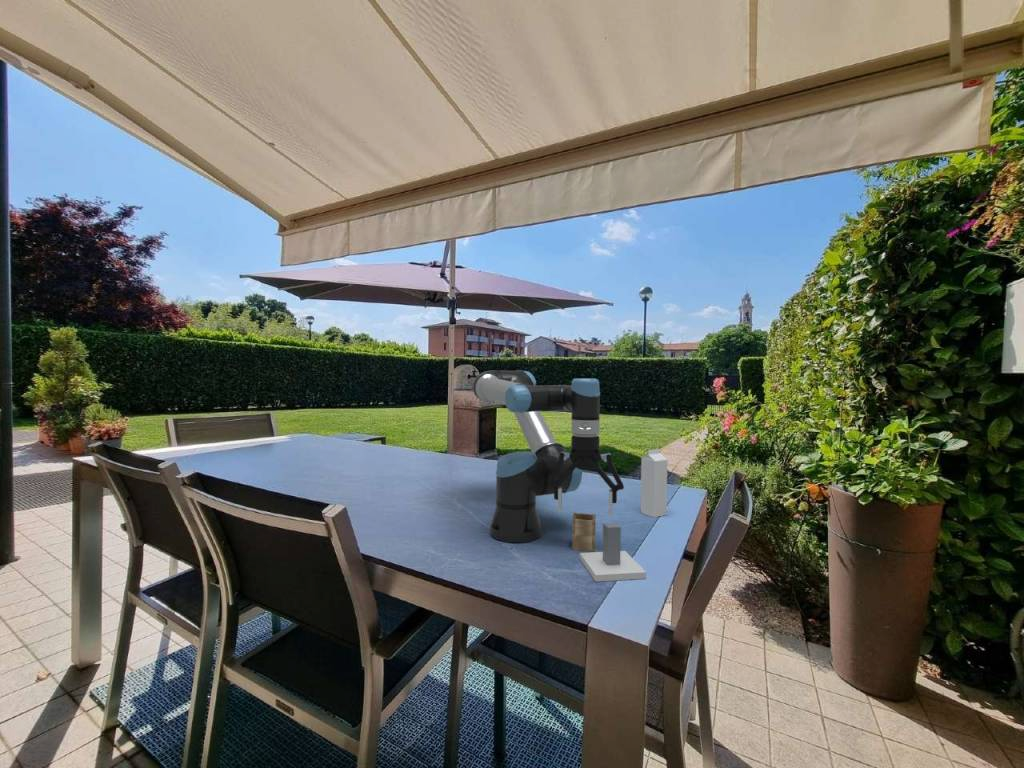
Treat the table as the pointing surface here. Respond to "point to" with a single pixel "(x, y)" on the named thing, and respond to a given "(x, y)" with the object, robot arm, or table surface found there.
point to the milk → (654, 484)
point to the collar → (583, 532)
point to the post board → (612, 570)
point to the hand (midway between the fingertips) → (584, 513)
